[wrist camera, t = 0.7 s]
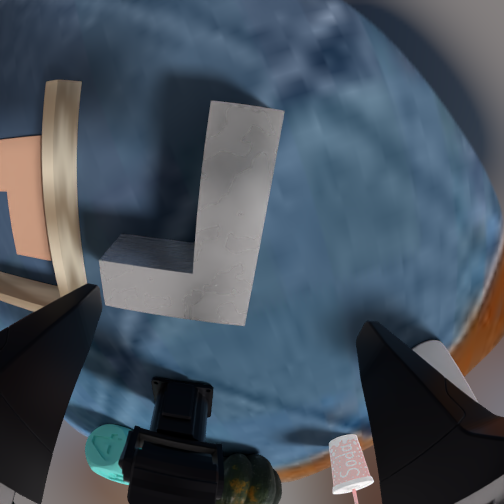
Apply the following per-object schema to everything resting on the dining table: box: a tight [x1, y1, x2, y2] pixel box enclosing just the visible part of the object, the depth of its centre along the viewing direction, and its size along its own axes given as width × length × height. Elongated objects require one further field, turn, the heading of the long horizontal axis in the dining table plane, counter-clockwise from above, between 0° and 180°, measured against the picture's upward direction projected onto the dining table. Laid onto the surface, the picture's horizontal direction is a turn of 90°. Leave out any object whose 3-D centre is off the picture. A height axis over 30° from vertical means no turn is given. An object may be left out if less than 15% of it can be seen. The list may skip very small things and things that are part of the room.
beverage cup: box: [329, 434, 374, 504], centre depth 30 cm, size 6×6×14 cm
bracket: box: [99, 101, 284, 326], centre depth 17 cm, size 13×10×4 cm
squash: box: [216, 453, 282, 504], centre depth 33 cm, size 14×15×15 cm
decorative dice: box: [85, 424, 142, 485], centre depth 31 cm, size 8×8×8 cm
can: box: [412, 340, 478, 403], centre depth 22 cm, size 6×6×12 cm
